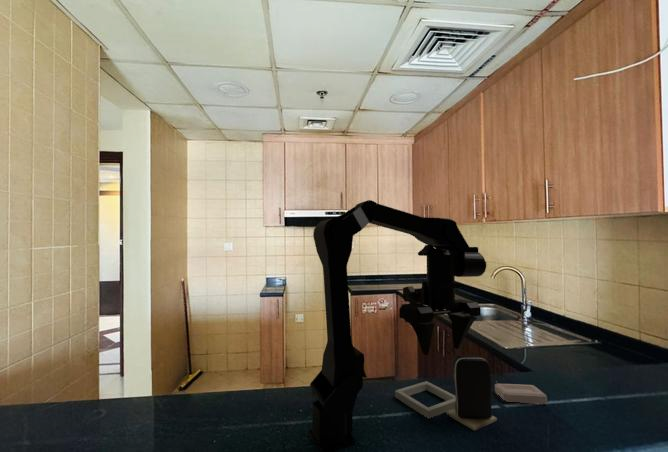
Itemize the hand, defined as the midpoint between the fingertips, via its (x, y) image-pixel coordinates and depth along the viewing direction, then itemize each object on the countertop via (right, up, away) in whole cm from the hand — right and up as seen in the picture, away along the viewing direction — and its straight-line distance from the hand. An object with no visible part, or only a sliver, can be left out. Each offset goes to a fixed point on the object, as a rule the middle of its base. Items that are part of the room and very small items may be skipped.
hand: (441, 351), depth 63 cm
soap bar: (+20, -13, +5) cm, 25 cm away
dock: (-2, -13, +3) cm, 13 cm away
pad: (+5, -12, -3) cm, 13 cm away
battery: (+5, -12, -3) cm, 13 cm away
